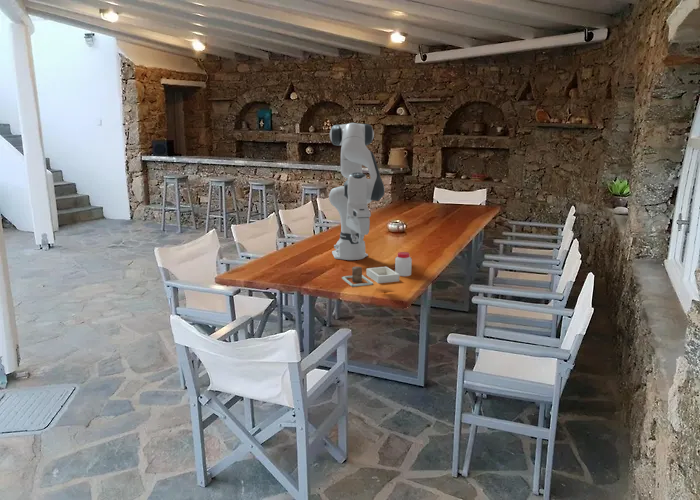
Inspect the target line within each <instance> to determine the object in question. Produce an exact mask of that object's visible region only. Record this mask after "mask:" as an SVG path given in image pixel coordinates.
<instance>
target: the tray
mask: <svg viewBox="0 0 700 500" xmlns="http://www.w3.org/2000/svg"><path fill="white" fill-rule="evenodd" d="M341 279H342V280H343V281H344V282H345V283H347V284H348V285H349V286H351V288H353V287H363V286H373V285H374V282H373V281H372V280H371V279H369V278H367V277H366V276H365V275H363V274H362V280H364V281H366V282H363V283H362V282H360V283H353V282H351V281H350V280H348V279H352V275H345V276H341Z"/></svg>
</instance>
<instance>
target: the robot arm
mask: <svg viewBox="0 0 700 500" xmlns="http://www.w3.org/2000/svg"><path fill="white" fill-rule="evenodd" d="M374 137H375V131H374V129H373V126H372V125H371V124H368V123H356V122H349V123H344V124H334V125H332V126H331V128H330V130H329V140H330V141H331V144H332V145H333V146H338V147H340V146H341V148H340V173H341V175H342V177H344V178H345V179H346V181H344V183H343V185H341V186H337V187H336V186H335V187H334V188H331V190H330V191H329V194H328V200H329V203H330V204H331V205H332V206H333V207H334V208H335V209H336V210H337V212H338V215H339V217H340V230H341V231H340V233H339V239H338V240H337V242H336V244H333V248H334V250H332V251H331V254H332V255H333V257H334V259H337V260H343V261H344V260H345V261H346V260H347V261H356V260H357V261H359V260H363V259H365V258H366V257H368V256H369V255H368V253H366V241H365V240H364V238H365V235H366V236H367V235H369V232H370V226H371V225H370V223H371V221H370V219H371V218H370V217H371V216H372V214H371V211H370V209H369V207H368V205H369V204H370V203H371V202H372V201H379V200H381V199H382V198H383V197H384V195H385V185H384V182H383V179H382V177H381V174H380V171H379V166H378V164H377V161H376V158H375V155H374V153H373V152H372V151H371V150H370V149H369V148H368V147H367V146H368V145H370V144H371V143H373V140H374ZM363 166H364V167H365V168H366V169H367V170H368V173H369V176H370V178H367V174H366V173H363Z"/></svg>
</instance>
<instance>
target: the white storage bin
mask: <svg viewBox="0 0 700 500" xmlns="http://www.w3.org/2000/svg"><path fill="white" fill-rule="evenodd" d="M365 270H366V271H365V272H366V276H367V277H368V278H370V280H373V281H374V283H375V282H376V283H377V284H384V283H385V284H386V283H393V282H400V276H399V274H398V273H396V272H395V270H393V269H391V268H389V267H388V266H377V267H369V268H366V269H365Z"/></svg>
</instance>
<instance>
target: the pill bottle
mask: <svg viewBox="0 0 700 500" xmlns="http://www.w3.org/2000/svg"><path fill="white" fill-rule="evenodd" d="M394 260H395V261H394V262H395V263H394V266H395V267H394V271H395V272H396V273H398V274H399V277H409V276H411V275H412V263H413V262H412V261H413V260H412V257H411V256H410V252H407V251H399V252H397V256H396V257H395V259H394Z"/></svg>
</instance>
